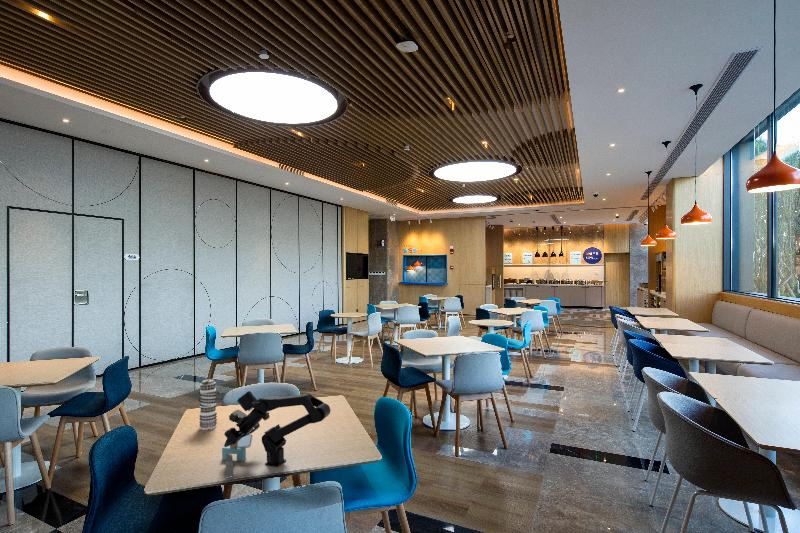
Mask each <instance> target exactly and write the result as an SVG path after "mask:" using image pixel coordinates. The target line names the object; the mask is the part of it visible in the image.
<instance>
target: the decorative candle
mask: <svg viewBox="0 0 800 533" xmlns="http://www.w3.org/2000/svg"><path fill="white" fill-rule="evenodd" d="M216 384H217V381H215V380H214V379H211V378H209V379H203V380H202V381H201V382H200V383H199V386H200V387H199V388H200V389H199V392H198V402H199V407H200V410H199V430H201V429H202V431H206V430H207V431H208V429H209V430H212V429H215V428H217V426H218V422H217V421H218V419H217V414H218V413H217V409H216V408H217V405H218V404H217V402H218V401H217V399H218V397H217V396H218V394H217V393H218V391H217V387H216Z"/></svg>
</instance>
